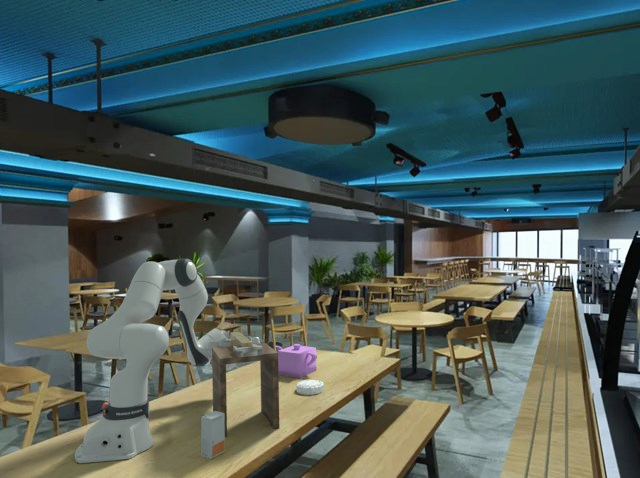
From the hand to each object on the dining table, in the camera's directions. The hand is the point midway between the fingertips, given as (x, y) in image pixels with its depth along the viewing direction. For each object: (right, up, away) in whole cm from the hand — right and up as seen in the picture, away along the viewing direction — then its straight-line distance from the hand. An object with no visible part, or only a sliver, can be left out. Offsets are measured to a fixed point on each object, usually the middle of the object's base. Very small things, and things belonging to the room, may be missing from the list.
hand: (236, 338), depth 176 cm
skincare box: (-1, -27, -36) cm, 45 cm away
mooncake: (+28, -28, +24) cm, 46 cm away
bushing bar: (+3, -2, -6) cm, 7 cm away
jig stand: (+5, -27, -12) cm, 31 cm away
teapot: (+20, -28, +53) cm, 63 cm away
